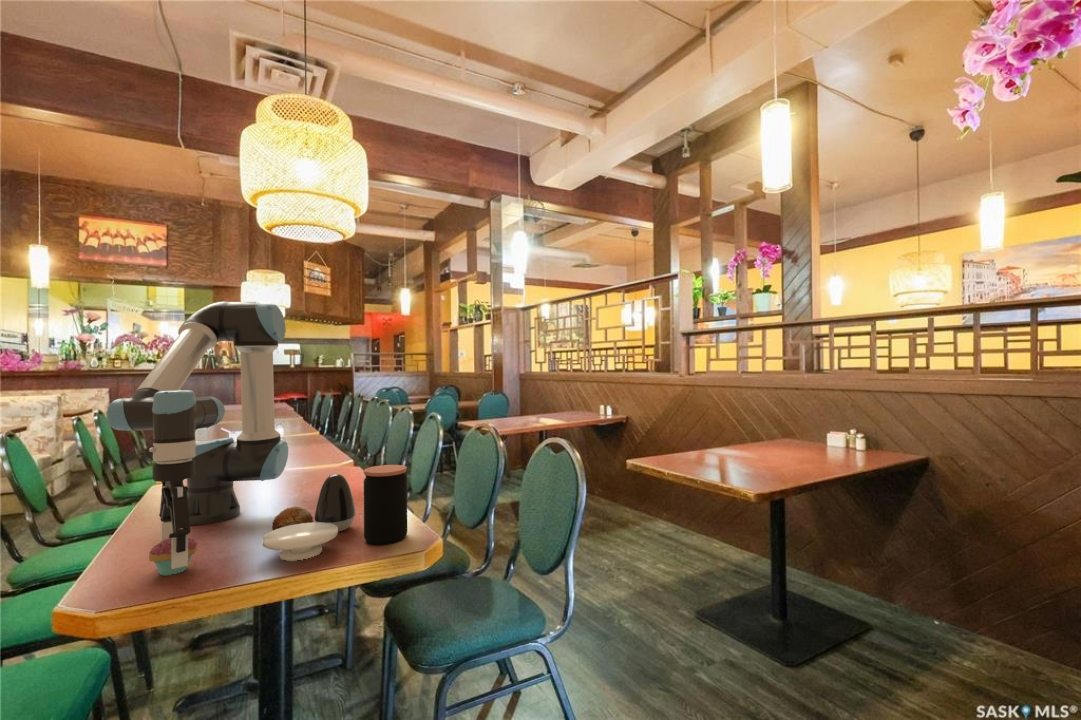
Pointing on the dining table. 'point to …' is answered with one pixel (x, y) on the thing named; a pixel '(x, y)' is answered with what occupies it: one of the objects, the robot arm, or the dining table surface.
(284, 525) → the bread roll
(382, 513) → the coffee jar
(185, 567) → the cupcake
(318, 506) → the black egg shaped dome
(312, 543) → the cake stand
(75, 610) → the dining table surface
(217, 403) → the robot arm
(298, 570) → the dining table surface
